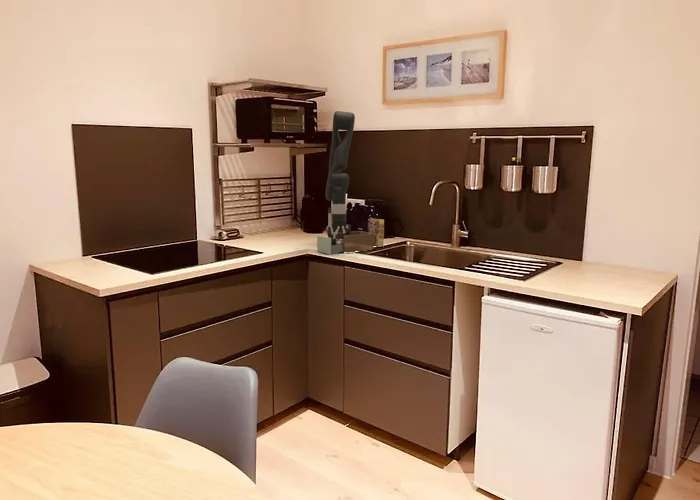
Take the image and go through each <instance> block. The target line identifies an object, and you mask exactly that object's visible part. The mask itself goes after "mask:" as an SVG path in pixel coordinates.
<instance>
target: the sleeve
mask: <svg viewBox="0 0 700 500" xmlns="http://www.w3.org/2000/svg"><path fill="white" fill-rule="evenodd" d="M335 238H343V237H342V234H341V233H337V235H336V237H335ZM373 248H374V247H373V234H372V233H368V231H362V230H357V231H355V230H354V231H350V235H346V236H344V252H355V251H364V250H372V249H373ZM355 253H356V252H355Z"/></svg>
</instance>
